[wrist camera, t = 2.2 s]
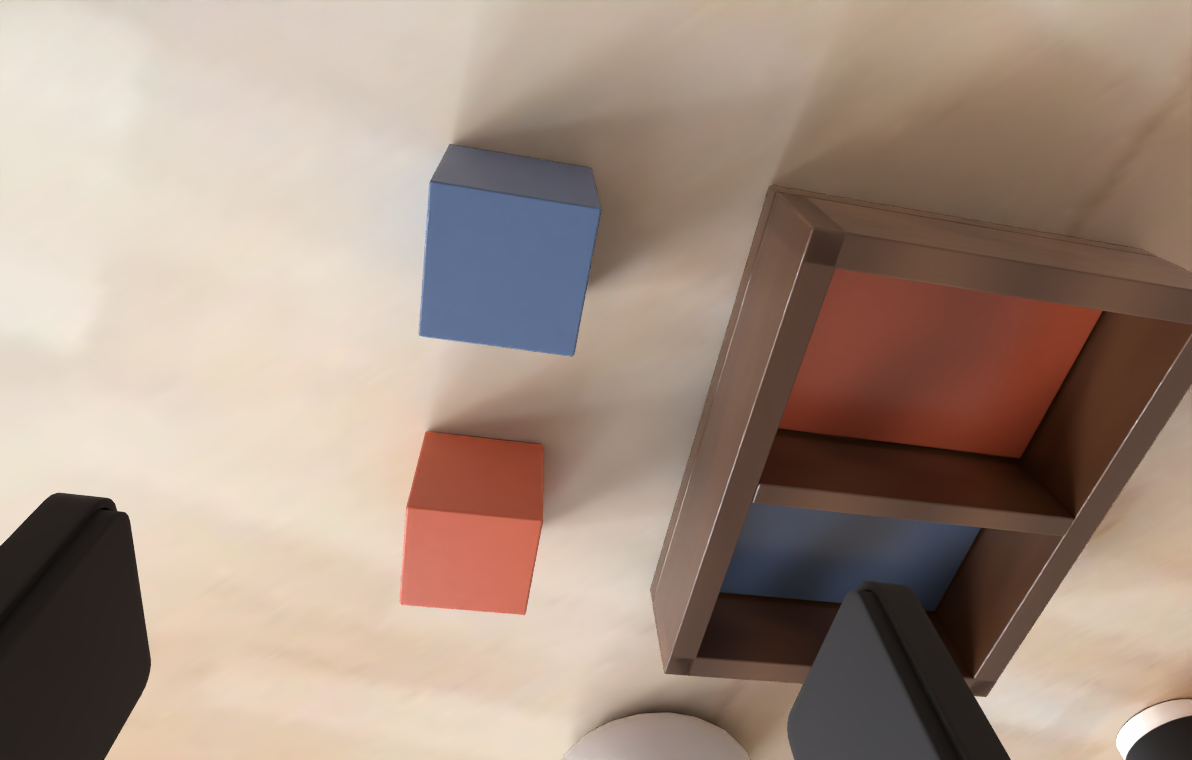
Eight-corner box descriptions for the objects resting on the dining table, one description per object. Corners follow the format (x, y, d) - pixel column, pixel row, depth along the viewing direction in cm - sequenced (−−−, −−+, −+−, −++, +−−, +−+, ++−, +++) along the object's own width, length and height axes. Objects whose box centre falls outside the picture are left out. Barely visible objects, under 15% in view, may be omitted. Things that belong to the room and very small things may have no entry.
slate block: (438, 278, 23) (418, 336, 20) (449, 143, 21) (429, 180, 18) (569, 297, 24) (574, 357, 20) (592, 167, 22) (602, 208, 18)
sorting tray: (649, 589, 30) (663, 674, 27) (768, 184, 22) (812, 226, 19) (936, 614, 32) (986, 697, 29) (1142, 248, 24) (1249, 299, 20)
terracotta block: (417, 521, 28) (399, 605, 24) (425, 430, 26) (406, 506, 22) (527, 532, 28) (525, 615, 25) (543, 443, 26) (543, 520, 23)
